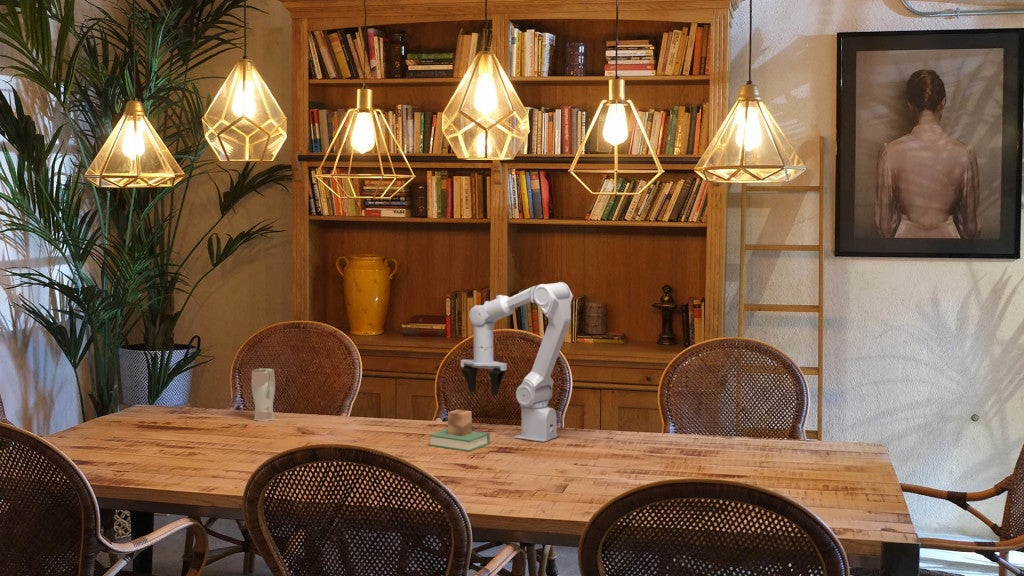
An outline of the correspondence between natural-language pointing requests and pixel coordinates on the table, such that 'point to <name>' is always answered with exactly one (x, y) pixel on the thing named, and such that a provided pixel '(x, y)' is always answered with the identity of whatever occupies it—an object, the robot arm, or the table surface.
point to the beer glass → (263, 393)
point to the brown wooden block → (459, 422)
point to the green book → (459, 440)
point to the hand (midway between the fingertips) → (483, 393)
